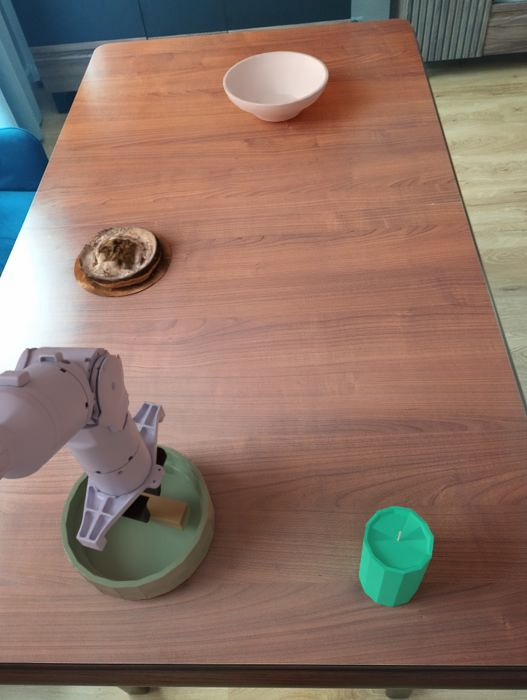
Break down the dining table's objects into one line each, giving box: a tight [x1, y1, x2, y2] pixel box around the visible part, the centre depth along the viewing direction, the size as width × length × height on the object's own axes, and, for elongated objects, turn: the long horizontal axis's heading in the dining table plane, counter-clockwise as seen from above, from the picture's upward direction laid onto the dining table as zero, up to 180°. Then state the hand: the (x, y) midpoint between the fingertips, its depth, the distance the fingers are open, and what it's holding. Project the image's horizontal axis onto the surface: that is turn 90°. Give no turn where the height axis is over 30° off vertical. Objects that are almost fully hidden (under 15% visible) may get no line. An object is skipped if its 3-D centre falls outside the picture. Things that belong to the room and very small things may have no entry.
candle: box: [358, 505, 435, 608], centre depth 54 cm, size 6×6×12 cm
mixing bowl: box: [59, 444, 216, 601], centre depth 62 cm, size 15×15×5 cm
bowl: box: [222, 50, 330, 123], centre depth 110 cm, size 20×20×7 cm
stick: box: [140, 492, 191, 531], centre depth 62 cm, size 2×9×2 cm, turn 73°
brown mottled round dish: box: [73, 226, 172, 298], centre depth 89 cm, size 15×15×4 cm
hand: (145, 505), depth 62 cm, fingers closed on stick, 2 cm apart
